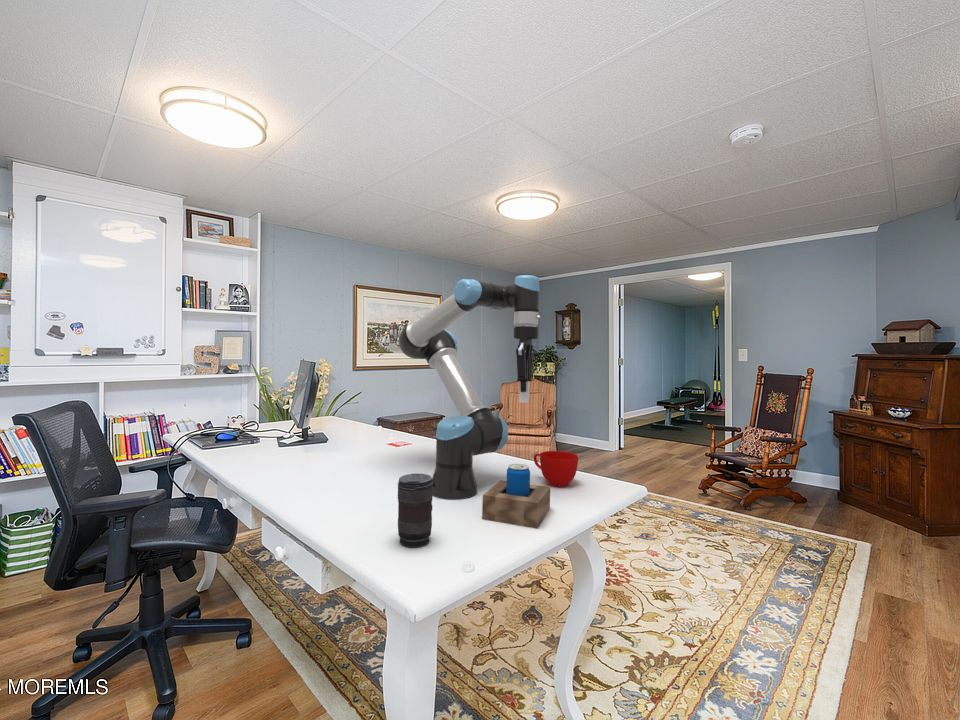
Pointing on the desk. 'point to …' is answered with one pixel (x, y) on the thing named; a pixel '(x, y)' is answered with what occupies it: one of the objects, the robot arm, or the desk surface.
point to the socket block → (516, 505)
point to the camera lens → (415, 509)
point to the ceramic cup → (557, 467)
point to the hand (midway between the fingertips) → (524, 402)
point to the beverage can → (518, 480)
